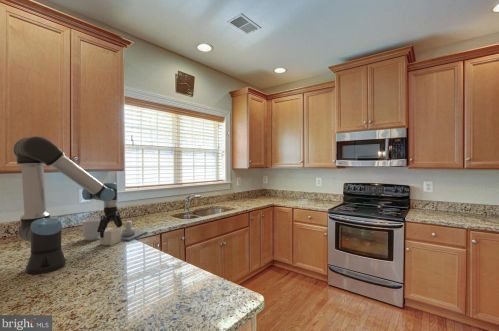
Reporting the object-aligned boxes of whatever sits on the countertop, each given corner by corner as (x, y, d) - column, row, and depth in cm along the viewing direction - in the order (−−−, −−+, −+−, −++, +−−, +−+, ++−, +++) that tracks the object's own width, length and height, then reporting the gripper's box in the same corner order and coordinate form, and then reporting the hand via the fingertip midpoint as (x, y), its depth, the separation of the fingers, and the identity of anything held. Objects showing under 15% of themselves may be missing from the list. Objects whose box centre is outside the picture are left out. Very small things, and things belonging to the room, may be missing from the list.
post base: (129, 241, 163) (129, 225, 163) (108, 239, 166) (108, 224, 166) (147, 233, 182) (147, 219, 182) (128, 231, 185) (128, 218, 185)
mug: (106, 234, 177) (106, 216, 177) (109, 238, 169) (109, 219, 169) (81, 238, 168) (81, 219, 168) (83, 242, 159) (83, 222, 159)
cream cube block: (111, 245, 155) (111, 231, 155) (99, 244, 156) (99, 231, 156) (120, 241, 163) (120, 228, 163) (109, 240, 165) (109, 227, 165)
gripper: (100, 209, 147) (101, 245, 147) (128, 203, 171) (128, 234, 171) (90, 209, 149) (90, 245, 149) (118, 203, 172) (118, 233, 172)
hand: (110, 239), depth 160 cm, fingers open, 12 cm apart
